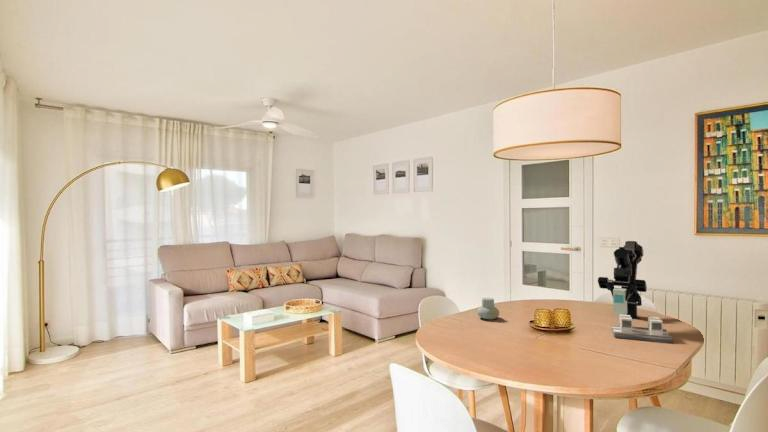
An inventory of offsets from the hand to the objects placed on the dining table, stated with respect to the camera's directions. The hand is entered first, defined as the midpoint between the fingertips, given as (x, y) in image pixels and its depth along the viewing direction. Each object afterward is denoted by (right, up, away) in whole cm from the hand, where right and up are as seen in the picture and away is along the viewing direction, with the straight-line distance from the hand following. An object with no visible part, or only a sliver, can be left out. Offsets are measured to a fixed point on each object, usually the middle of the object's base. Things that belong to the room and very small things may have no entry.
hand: (619, 299), depth 177 cm
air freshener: (-52, -15, +25) cm, 60 cm away
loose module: (+1, -7, +1) cm, 7 cm away
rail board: (+3, -13, -9) cm, 17 cm away
